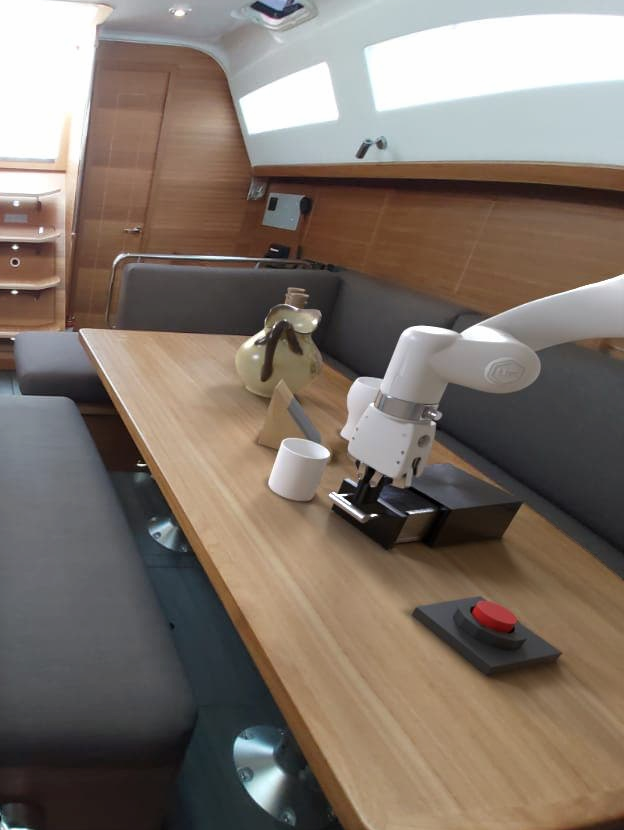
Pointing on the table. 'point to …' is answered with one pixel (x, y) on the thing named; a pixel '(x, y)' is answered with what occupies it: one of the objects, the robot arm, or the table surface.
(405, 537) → the black drawer
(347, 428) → the cup
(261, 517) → the table surface
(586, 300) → the robot arm
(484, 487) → the black drawer box
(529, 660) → the control block
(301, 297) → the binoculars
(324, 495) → the table surface
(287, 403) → the sandwich container
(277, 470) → the mug
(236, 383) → the table surface
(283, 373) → the pitcher
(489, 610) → the button
